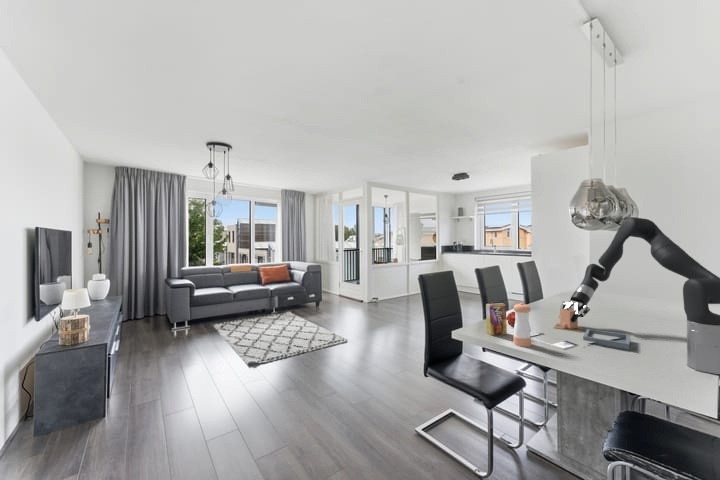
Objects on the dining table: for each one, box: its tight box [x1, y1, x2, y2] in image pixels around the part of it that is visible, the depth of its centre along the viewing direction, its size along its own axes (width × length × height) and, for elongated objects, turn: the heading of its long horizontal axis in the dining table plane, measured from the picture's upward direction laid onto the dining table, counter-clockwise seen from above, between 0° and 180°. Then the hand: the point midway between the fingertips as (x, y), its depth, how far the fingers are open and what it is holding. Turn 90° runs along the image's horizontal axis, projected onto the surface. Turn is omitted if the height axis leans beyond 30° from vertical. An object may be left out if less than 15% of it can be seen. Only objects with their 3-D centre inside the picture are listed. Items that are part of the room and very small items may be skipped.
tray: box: [582, 328, 631, 352], centre depth 141 cm, size 16×16×3 cm
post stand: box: [553, 322, 585, 334], centre depth 159 cm, size 12×12×8 cm
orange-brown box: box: [559, 308, 579, 329], centre depth 159 cm, size 5×7×9 cm
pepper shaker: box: [512, 302, 532, 348], centre depth 140 cm, size 7×7×19 cm
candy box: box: [485, 302, 508, 336], centre depth 156 cm, size 9×4×15 cm, turn 96°
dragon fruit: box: [506, 311, 515, 327], centre depth 168 cm, size 8×8×12 cm
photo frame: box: [530, 332, 579, 350], centre depth 144 cm, size 15×1×18 cm
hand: (566, 319), depth 159 cm, fingers closed on orange-brown box, 5 cm apart
